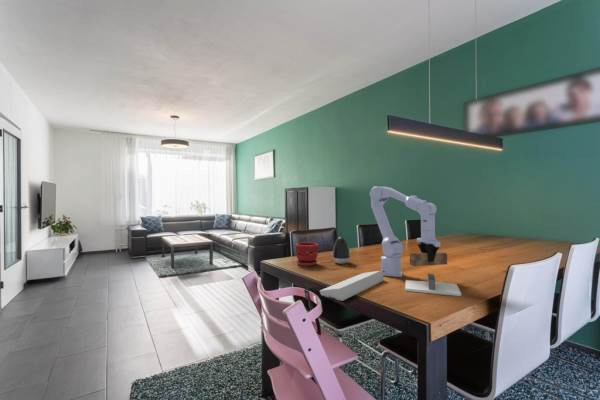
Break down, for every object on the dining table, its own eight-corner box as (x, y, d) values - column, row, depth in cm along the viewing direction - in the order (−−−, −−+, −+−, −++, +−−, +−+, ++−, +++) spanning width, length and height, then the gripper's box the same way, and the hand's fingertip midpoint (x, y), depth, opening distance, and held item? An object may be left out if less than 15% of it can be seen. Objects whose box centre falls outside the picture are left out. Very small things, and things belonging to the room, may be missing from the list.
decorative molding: (322, 303, 115) (343, 301, 108) (319, 290, 115) (339, 288, 109) (365, 283, 140) (384, 281, 134) (362, 273, 141) (381, 270, 135)
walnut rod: (414, 266, 127) (413, 254, 127) (409, 264, 131) (409, 253, 131) (447, 264, 130) (447, 253, 130) (442, 262, 133) (441, 251, 133)
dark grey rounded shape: (334, 265, 166) (333, 238, 166) (331, 261, 176) (331, 235, 176) (352, 264, 166) (351, 237, 166) (348, 260, 177) (347, 235, 177)
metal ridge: (428, 289, 117) (428, 279, 117) (427, 282, 126) (427, 273, 126) (435, 290, 116) (435, 279, 116) (433, 283, 125) (433, 273, 125)
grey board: (405, 290, 119) (405, 288, 119) (405, 282, 131) (405, 279, 131) (461, 296, 111) (461, 293, 111) (456, 286, 123) (456, 284, 123)
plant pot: (319, 266, 163) (319, 245, 163) (295, 267, 163) (295, 245, 163) (317, 261, 176) (317, 241, 176) (295, 262, 176) (295, 242, 176)
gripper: (446, 231, 124) (447, 263, 124) (426, 228, 138) (426, 257, 138) (431, 232, 123) (432, 264, 123) (412, 228, 137) (413, 257, 137)
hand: (428, 260), depth 130 cm, fingers closed on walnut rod, 3 cm apart
